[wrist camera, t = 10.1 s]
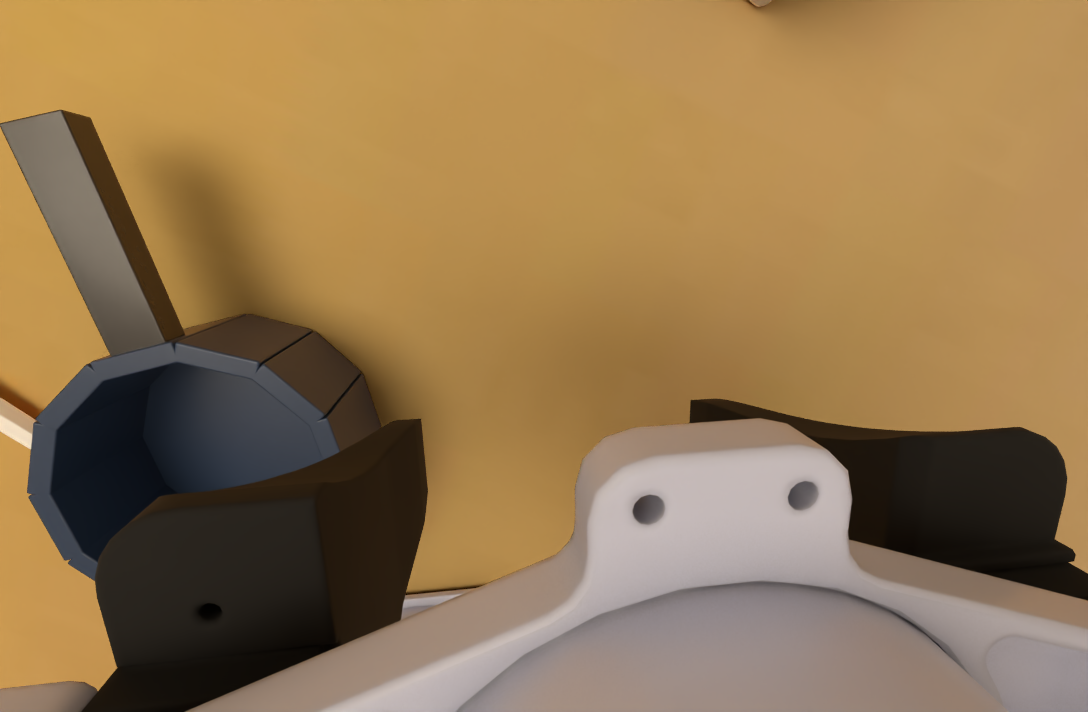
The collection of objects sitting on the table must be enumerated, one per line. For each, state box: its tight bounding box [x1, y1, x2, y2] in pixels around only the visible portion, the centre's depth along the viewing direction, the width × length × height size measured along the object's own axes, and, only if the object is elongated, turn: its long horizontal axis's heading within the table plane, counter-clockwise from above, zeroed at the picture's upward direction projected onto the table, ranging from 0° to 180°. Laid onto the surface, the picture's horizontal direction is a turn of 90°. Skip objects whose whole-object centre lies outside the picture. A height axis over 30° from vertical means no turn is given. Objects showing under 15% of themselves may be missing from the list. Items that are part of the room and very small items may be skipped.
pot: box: [0, 110, 381, 581], centre depth 20 cm, size 17×10×6 cm, turn 13°
